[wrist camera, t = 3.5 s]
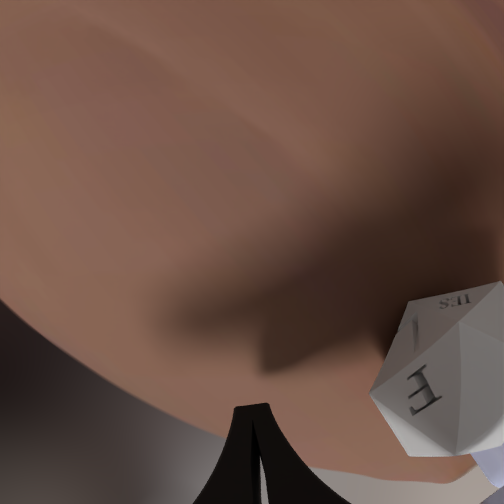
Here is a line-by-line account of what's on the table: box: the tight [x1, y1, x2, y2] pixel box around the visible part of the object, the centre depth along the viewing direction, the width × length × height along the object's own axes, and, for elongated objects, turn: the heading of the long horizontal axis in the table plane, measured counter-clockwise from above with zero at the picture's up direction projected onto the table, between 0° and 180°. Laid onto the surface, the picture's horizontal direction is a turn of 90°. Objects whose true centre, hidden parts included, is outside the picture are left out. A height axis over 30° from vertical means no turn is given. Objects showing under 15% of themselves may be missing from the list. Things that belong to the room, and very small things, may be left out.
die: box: [369, 281, 504, 457], centre depth 10 cm, size 8×9×10 cm
